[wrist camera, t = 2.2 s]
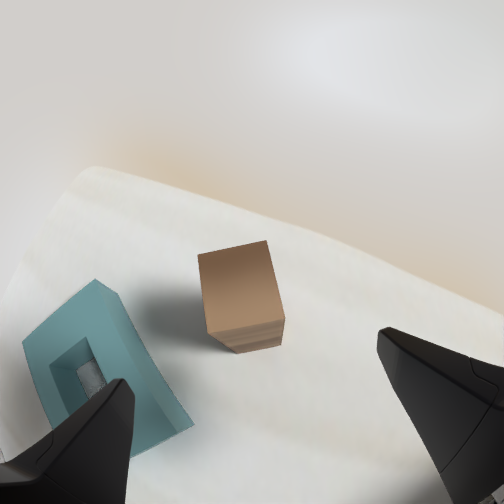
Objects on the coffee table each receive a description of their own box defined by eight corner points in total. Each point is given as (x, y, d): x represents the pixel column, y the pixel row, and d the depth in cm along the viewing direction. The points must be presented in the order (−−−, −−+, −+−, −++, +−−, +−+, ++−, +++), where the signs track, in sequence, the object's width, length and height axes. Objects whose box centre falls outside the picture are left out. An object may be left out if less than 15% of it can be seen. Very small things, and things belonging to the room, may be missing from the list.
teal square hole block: (194, 424, 18) (177, 432, 14) (104, 469, 16) (79, 477, 12) (117, 293, 24) (95, 278, 20) (47, 349, 21) (21, 341, 18)
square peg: (281, 345, 21) (285, 318, 12) (237, 353, 20) (207, 333, 12) (270, 298, 22) (266, 240, 13) (229, 307, 22) (197, 254, 13)
